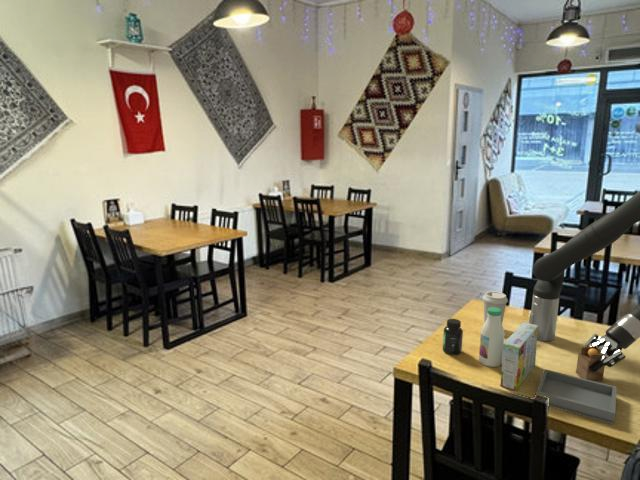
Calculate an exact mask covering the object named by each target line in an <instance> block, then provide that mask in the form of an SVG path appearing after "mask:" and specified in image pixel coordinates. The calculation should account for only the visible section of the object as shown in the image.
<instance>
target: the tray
mask: <svg viewBox="0 0 640 480" xmlns="http://www.w3.org/2000/svg"><path fill="white" fill-rule="evenodd" d="M617 390H618V389H617V386H614V385H611V384H607V383H602V382H600V381H591V380H587V379H583V378H581V377H580V376H579V377H578V376H574V375H569V374H566V373H563V372H558V371H553V370H550V369H546V368H544V369H543V372H542V376H541V378H540V381H539V384H538V387H537V389H536V394H535V396H536V395H537V394H538V395H542V396H546V397H548V398H549V406H548V407H551V408H554V407H556V408H555V409H557V408H559V409H558V410H561V409H562V410H561V411H564V410H566V411H565V412H568V411H570V412H569V413H571V412H573V413H572V414H575V413H577V414H576V415H578V414H579V416H582V415H583V417H585V416H586V418H589V419H593V420H596V421H599V420H600V422H604V423H605V424H606V423H607V424H610V425H614V423H615V418H616V417H615V416H616V404H617V401H616V400H617Z"/></svg>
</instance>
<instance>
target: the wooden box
mask: <svg viewBox="0 0 640 480" xmlns="http://www.w3.org/2000/svg"><path fill="white" fill-rule="evenodd" d="M591 348H592V347H584V346H580V350H579V352H578V353H577V361H576V367H575V373H576V374H577V375H578V376H579V378H583V379H587V380H591V381H595V382H603V380H604V374H605V369H606V368H605V367H606V365H605V366H602V367H601V368H600V369H599V370H597V371H595V372H592V371H591V370H590V369H589V366H591V365H592V364H593V363H594V362H595V361H597V360H598V361H599V358H600V357H601V356H602V354H601V352H602V351H601V350H599V349H598V348H597V346H596V350H597V351H598V354H590V356H589V355H588V350H589V349H591ZM605 359H606V358H604V360H605Z"/></svg>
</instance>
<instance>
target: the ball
mask: <svg viewBox="0 0 640 480" xmlns="http://www.w3.org/2000/svg"><path fill="white" fill-rule="evenodd" d="M590 354H598V351H597V350H596V349H594V348H591V349H589V350H588V355H589V356H590Z"/></svg>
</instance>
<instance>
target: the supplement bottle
mask: <svg viewBox="0 0 640 480" xmlns="http://www.w3.org/2000/svg"><path fill="white" fill-rule="evenodd" d="M461 323H462V321H461V320H460V319H457V318H449V319H447V320H446V326H445V327H444V328H443V335H442V351H443V352H444V353H445V354H447V355H450V356H458V355H460V354H461V353H462V352H463V351H462V350H463V339H464V338H463V337H464V330H463V329H462V327H461Z"/></svg>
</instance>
